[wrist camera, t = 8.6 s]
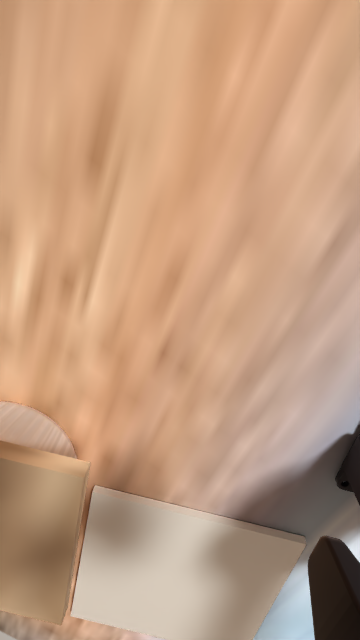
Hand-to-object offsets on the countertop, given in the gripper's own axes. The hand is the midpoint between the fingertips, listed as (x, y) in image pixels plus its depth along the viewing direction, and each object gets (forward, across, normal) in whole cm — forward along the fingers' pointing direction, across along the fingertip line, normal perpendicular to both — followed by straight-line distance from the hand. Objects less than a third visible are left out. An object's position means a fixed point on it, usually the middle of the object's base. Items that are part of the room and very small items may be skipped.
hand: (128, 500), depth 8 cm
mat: (+12, -5, +23) cm, 27 cm away
